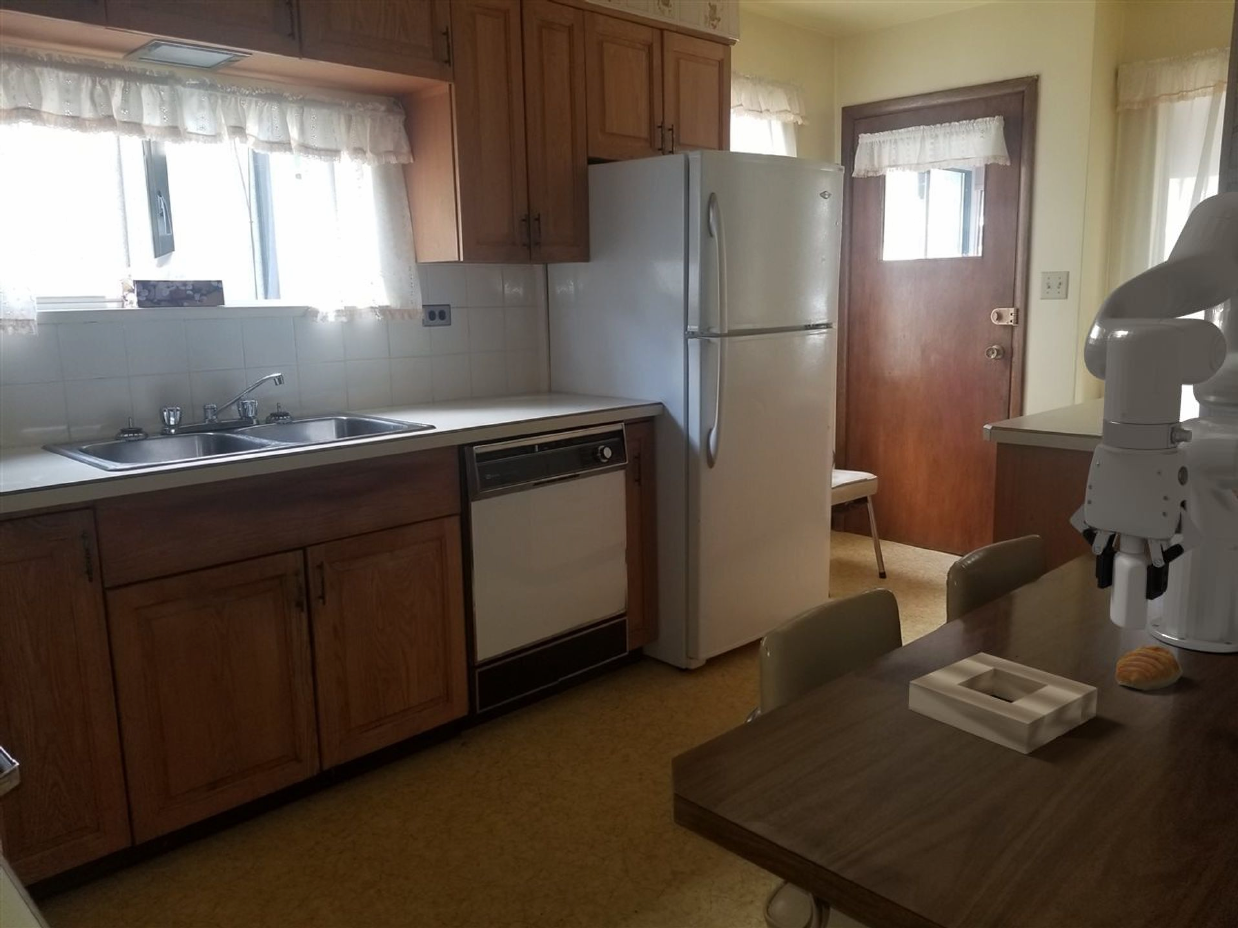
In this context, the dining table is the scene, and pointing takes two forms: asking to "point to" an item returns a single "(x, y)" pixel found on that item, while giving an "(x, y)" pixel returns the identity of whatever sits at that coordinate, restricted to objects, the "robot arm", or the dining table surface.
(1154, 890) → the dining table surface
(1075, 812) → the dining table surface
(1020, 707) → the rectangular frame
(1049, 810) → the dining table surface
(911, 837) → the dining table surface
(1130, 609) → the eye dropper bottle
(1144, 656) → the pastry
